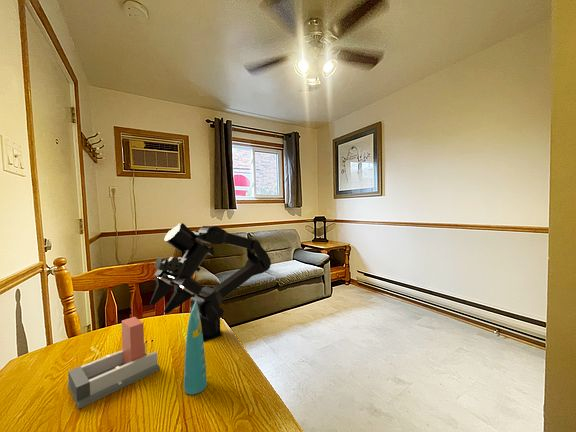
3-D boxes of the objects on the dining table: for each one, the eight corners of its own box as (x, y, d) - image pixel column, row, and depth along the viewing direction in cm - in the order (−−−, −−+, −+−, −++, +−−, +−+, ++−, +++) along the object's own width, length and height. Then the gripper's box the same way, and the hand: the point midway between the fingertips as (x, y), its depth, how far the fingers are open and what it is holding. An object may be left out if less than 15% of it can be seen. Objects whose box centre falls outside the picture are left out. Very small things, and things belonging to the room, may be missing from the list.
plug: (135, 357, 66) (134, 316, 66) (144, 365, 63) (143, 322, 62) (123, 362, 64) (121, 320, 64) (131, 371, 60) (130, 327, 60)
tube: (207, 395, 54) (205, 308, 53) (183, 401, 52) (180, 312, 52) (206, 374, 61) (204, 297, 60) (185, 379, 59) (182, 300, 59)
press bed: (142, 354, 70) (142, 339, 70) (159, 369, 63) (158, 353, 63) (67, 385, 58) (67, 368, 58) (78, 409, 51) (77, 389, 51)
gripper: (157, 242, 77) (121, 288, 70) (187, 248, 65) (146, 304, 57) (184, 261, 84) (153, 305, 76) (215, 269, 71) (182, 322, 64)
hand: (158, 308), depth 68 cm, fingers open, 9 cm apart
